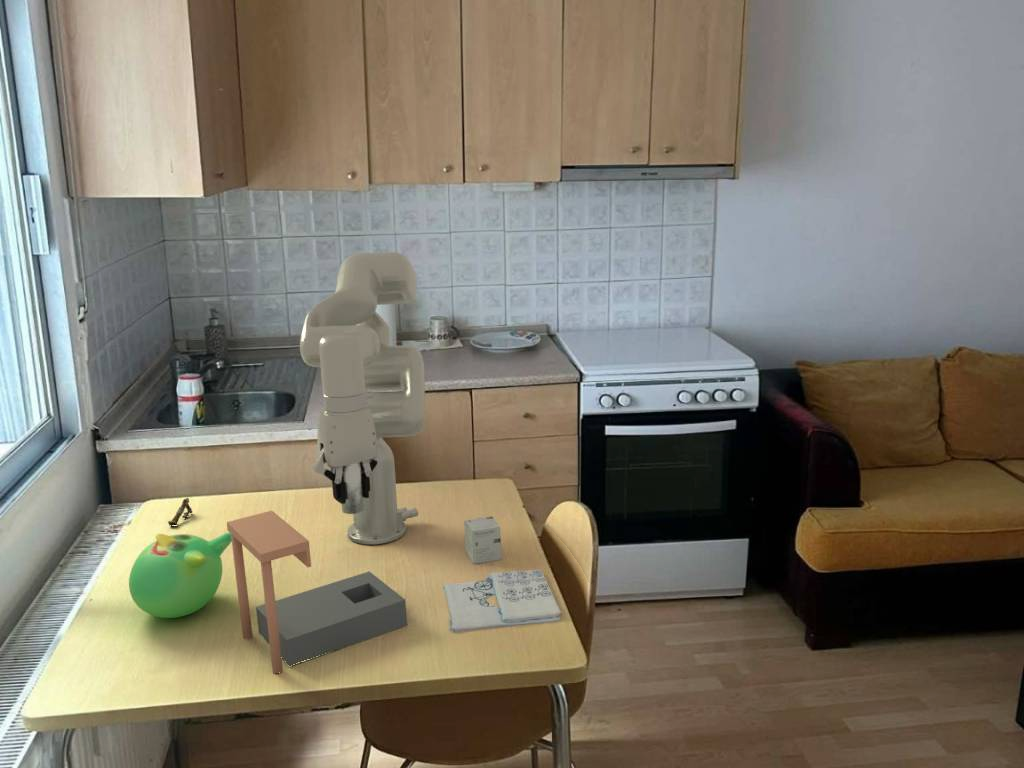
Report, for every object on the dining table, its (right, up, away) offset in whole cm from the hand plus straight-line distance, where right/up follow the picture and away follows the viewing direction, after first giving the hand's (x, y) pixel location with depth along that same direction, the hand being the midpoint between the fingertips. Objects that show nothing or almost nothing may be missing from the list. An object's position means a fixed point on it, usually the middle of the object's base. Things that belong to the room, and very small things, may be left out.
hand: (352, 498), depth 174 cm
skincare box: (+23, -15, +20) cm, 34 cm away
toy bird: (-32, -21, +3) cm, 38 cm away
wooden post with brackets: (-46, -11, +43) cm, 64 cm away
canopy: (-10, -24, -12) cm, 29 cm away
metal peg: (0, -2, +1) cm, 2 cm away
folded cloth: (+27, -20, +2) cm, 34 cm away
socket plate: (-2, -22, -6) cm, 23 cm away
